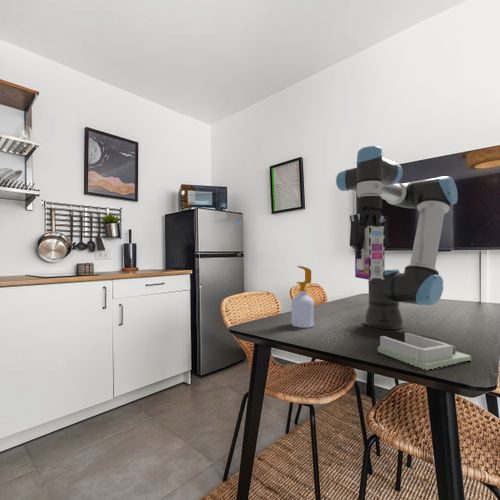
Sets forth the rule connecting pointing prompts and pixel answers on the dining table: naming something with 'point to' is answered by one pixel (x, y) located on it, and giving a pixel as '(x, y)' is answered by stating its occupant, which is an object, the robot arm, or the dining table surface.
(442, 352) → the white open tray
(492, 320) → the dining table surface
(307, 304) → the soap bottle
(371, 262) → the candy bar box
